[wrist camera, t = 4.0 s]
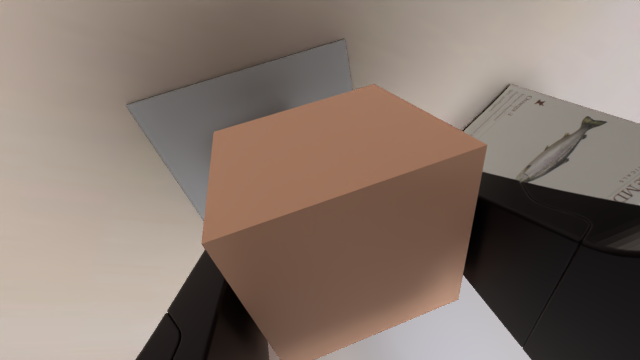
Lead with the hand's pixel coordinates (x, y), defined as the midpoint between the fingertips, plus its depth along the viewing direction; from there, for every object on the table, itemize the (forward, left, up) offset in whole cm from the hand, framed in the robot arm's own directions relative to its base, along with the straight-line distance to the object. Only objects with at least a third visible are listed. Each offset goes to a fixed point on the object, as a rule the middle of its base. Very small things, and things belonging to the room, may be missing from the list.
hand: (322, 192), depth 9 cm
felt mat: (+2, +5, -12) cm, 13 cm away
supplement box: (-18, +10, -12) cm, 24 cm away
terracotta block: (0, 0, -1) cm, 1 cm away
